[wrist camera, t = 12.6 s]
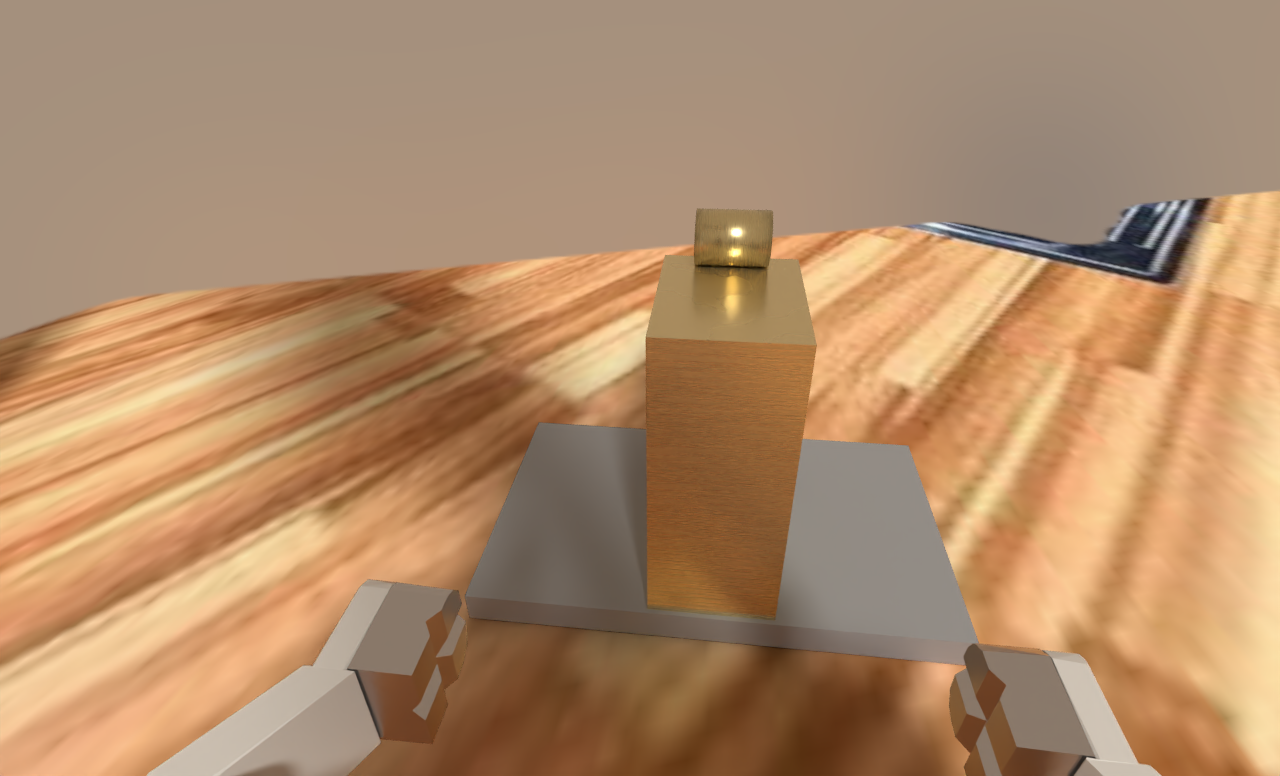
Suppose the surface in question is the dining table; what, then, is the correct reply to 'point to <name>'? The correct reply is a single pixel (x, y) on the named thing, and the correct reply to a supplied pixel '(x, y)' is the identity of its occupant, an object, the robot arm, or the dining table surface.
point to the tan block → (724, 418)
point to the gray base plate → (813, 565)
